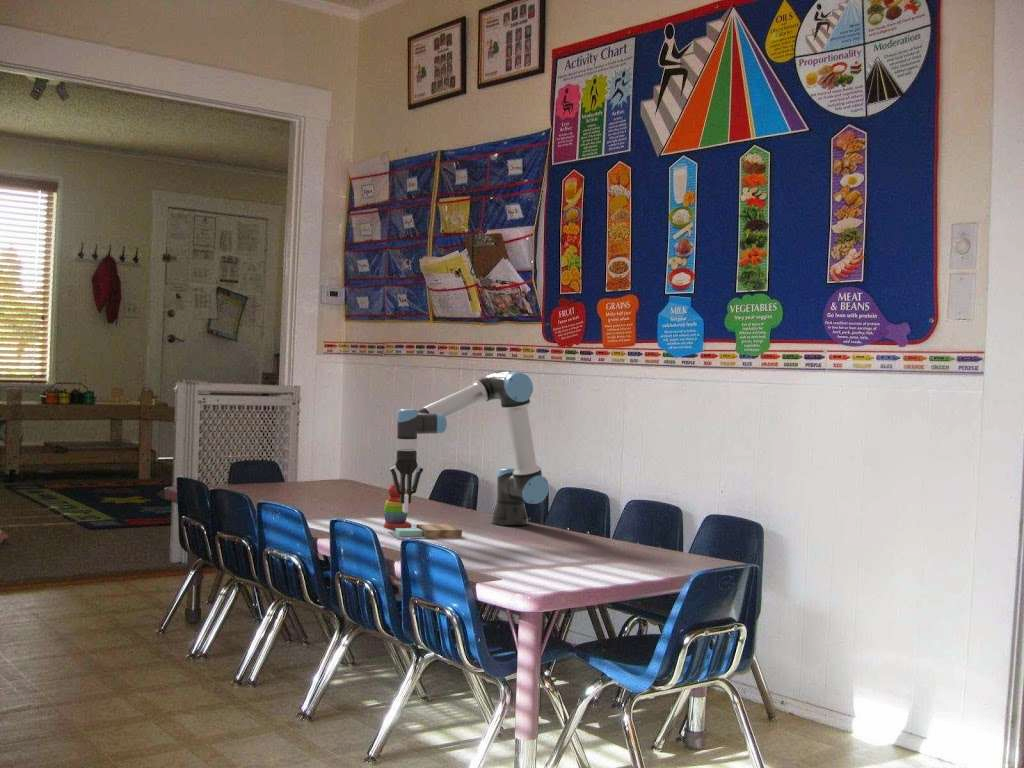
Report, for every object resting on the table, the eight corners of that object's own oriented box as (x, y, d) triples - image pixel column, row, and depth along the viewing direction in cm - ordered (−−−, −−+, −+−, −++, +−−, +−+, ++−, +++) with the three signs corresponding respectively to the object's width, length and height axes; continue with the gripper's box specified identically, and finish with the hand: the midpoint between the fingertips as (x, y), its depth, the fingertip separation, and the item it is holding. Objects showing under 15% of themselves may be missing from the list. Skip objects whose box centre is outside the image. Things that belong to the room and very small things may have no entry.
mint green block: (418, 533, 422) (418, 527, 422) (422, 535, 416) (422, 530, 416) (395, 533, 419) (395, 528, 419) (399, 536, 413) (399, 530, 413)
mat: (415, 531, 427) (415, 531, 427) (426, 538, 412) (426, 538, 412) (387, 532, 423) (387, 531, 423) (398, 539, 408) (398, 538, 408)
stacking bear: (404, 530, 429) (406, 484, 429) (379, 528, 431) (381, 483, 431) (412, 526, 440) (414, 482, 439) (388, 524, 442) (389, 480, 441)
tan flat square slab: (450, 531, 431) (451, 524, 430) (461, 537, 417) (462, 529, 417) (416, 532, 426) (416, 524, 426) (426, 538, 413) (426, 530, 413)
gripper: (420, 448, 422) (419, 510, 423) (387, 448, 417) (386, 510, 418) (426, 450, 415) (424, 513, 415) (392, 450, 410) (390, 513, 411)
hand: (405, 511), depth 417 cm, fingers closed
